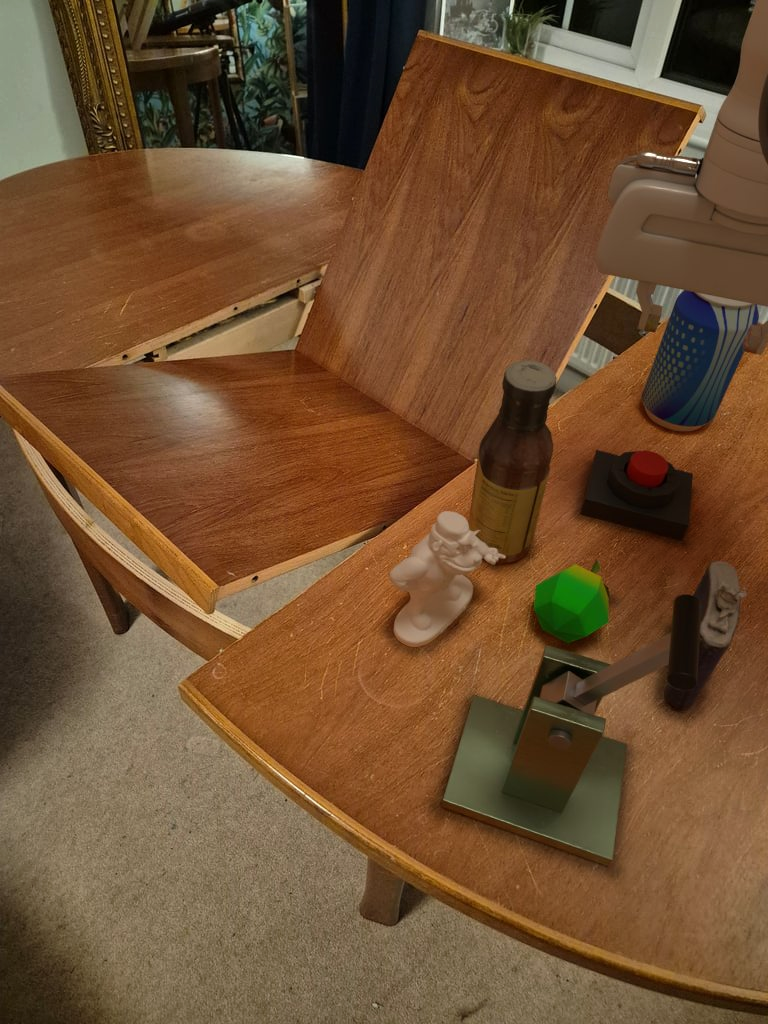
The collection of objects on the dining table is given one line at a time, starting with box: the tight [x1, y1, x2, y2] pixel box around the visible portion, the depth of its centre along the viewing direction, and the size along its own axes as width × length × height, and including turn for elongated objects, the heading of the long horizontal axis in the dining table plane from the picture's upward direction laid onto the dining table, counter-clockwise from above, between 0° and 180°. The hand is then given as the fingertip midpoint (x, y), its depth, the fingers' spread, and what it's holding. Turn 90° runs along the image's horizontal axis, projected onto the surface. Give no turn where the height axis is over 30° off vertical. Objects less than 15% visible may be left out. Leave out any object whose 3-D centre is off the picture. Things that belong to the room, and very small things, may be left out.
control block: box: [580, 449, 694, 542], centre depth 75 cm, size 10×8×4 cm
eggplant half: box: [661, 560, 748, 713], centre depth 59 cm, size 9×3×11 cm, turn 157°
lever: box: [540, 593, 701, 715], centre depth 44 cm, size 12×6×2 cm
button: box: [626, 450, 668, 488], centre depth 73 cm, size 4×4×2 cm
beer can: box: [641, 290, 760, 433], centre depth 81 cm, size 8×8×16 cm
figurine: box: [388, 510, 506, 648], centre depth 61 cm, size 9×7×12 cm
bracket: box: [440, 644, 628, 867], centre depth 50 cm, size 12×9×13 cm
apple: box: [533, 559, 611, 644], centre depth 64 cm, size 7×6×9 cm
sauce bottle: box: [468, 360, 557, 565], centre depth 64 cm, size 6×6×20 cm
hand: (698, 338), depth 63 cm, fingers open, 7 cm apart
